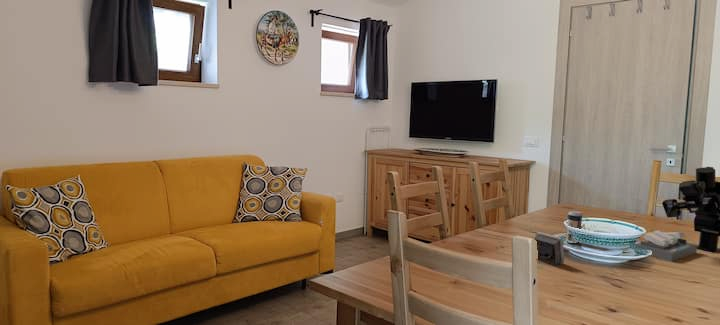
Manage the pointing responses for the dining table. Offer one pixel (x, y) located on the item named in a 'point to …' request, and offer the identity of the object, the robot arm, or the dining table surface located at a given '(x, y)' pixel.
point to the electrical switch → (549, 248)
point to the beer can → (573, 223)
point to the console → (669, 249)
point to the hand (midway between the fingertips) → (681, 215)
